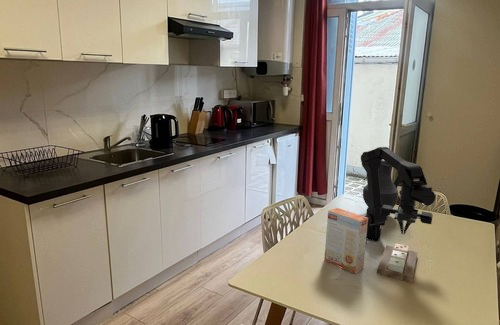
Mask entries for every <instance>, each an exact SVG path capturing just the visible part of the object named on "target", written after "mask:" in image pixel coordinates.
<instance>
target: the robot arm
mask: <svg viewBox="0 0 500 325" xmlns="http://www.w3.org/2000/svg"><path fill="white" fill-rule="evenodd" d="M381 160H384V161H386V162H387V163H388V164H390V165H391V166H392V167H393V168H394V170H396V172H397V176H398V175H399V176H400V177H401V180H399V181H398V183H399V184H401V187H400V188H401V189H400V195H399V204H398V206H397V209H395V208H393V209H392V206H389V205H382V203H381V195H380V185H379V175H378V170H379V168H380V166H381ZM360 162H361V167H362V168H363V169H364V170H365V172H366V180H367V184H368V193H369V206H367V209H366V215H365V216H364V217H367V218H368V225H367V235H366V240H368V241H369V240H370V241H374V242H379V240H380V239H381V237H382V231H383V230H382V228H381V227H383V226H385V225H386V222H387V221H388V217H389V216H390V215H392V214H393V215H394V220H395V221H397V222H398V225H399V228H400V234H401V235H405V234H406V232H407V231H408V229H409V227H410V225H412V224H415V223H416V220H417V219H419V221H420V222H421V223H422V224H427V225H432V221H433V216H434V215H433V214H432V212H428V211H421V213H419V209H416V202H417V203H419V204H422V205H424V206H426V207H428V206H431V205H433V204H434V203H435V200H436V197H437V196H436V194H435V192H434V191H433V187H432V186H427V185H428V182H427V179H426V177H425V173H424V171H423V168H422V166H420V165H418V164H417V163H414V162H411V161H410V162H409V161H407V160H405V159H404V158H402V157H401V156H400V155H398V154H397V153H396V152H393V151H392V150H391V149H390V147H388V146H379V147H376V148H374V149H370V150H368V151H363V152H362V154H360ZM405 222H406V223H405ZM404 223H405V226H404Z"/></svg>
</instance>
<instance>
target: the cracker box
mask: <svg viewBox="0 0 500 325" xmlns="http://www.w3.org/2000/svg"><path fill="white" fill-rule="evenodd" d="M367 225H368V218H367V217H365V216H364V215H361V214H359V213H355V212H351V211H349V210H345V209H342V208H339V207H334V208H332V209H329V210H328V211H327V224H326V234H325V244H324V247H325V248H324V257H323V258H324V261H327V262H329V263H330V264H333V265H335V266H338V267H340V268H341V269H344V270H346V271H348V272H351V273H352V274H357V273H359V272H360V271H362V270H363V269H364V262H365V252H366V244H367V239H366V235H367Z"/></svg>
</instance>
